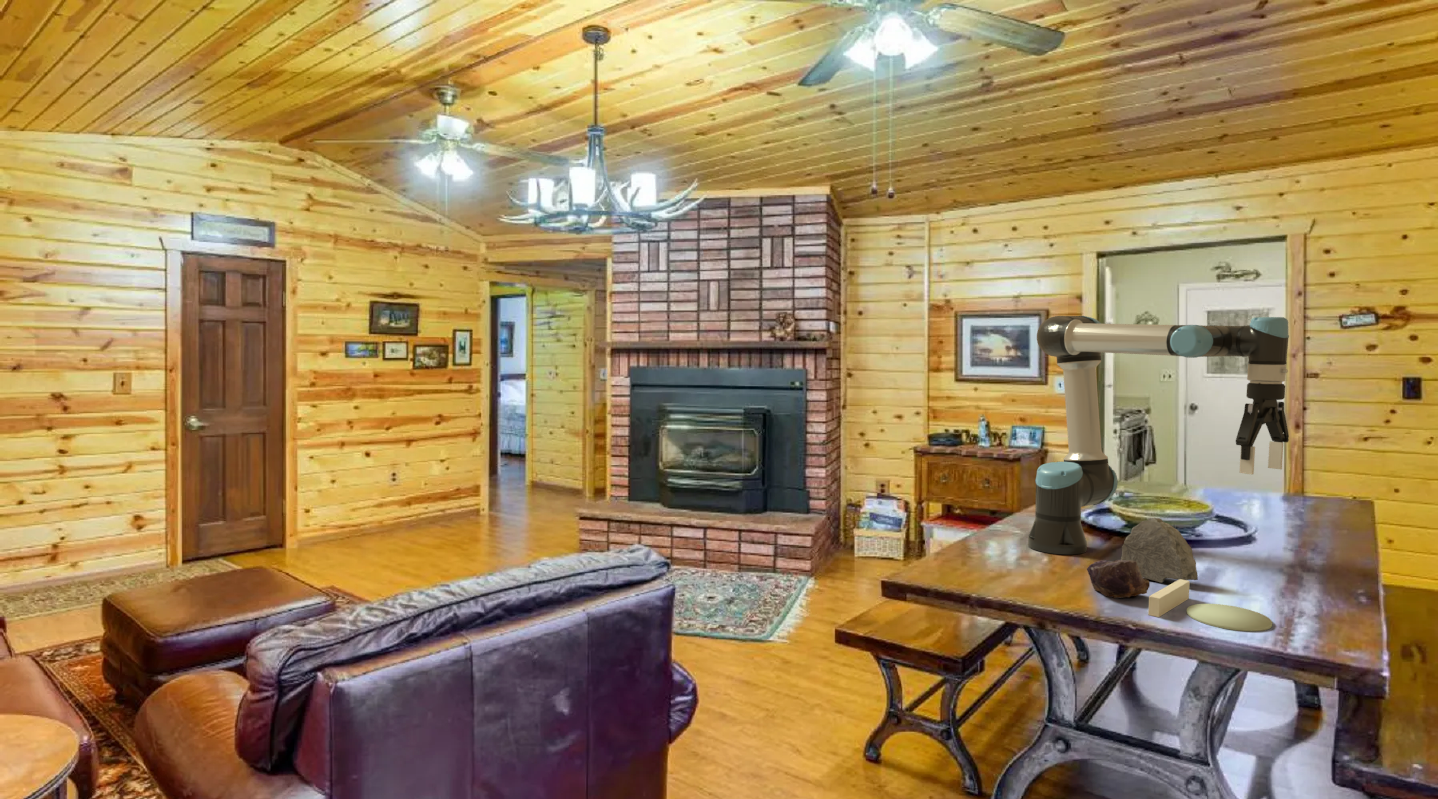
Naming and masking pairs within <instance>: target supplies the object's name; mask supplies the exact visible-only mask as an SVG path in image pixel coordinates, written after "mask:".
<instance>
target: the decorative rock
mask: <svg viewBox="0 0 1438 799" xmlns="http://www.w3.org/2000/svg"><path fill="white" fill-rule="evenodd" d="M1121 550H1122V551H1121V557H1120V560H1127V561H1128V560H1130V561H1132V560H1133V561H1136V562H1137V565H1138V567H1139V569H1140V572H1141V575H1142V578H1143V579H1147V580H1150V581H1155V582H1157V583H1164V581H1165V580H1166V579H1170V580H1179V579H1182V580H1187V581H1198V580H1199V576H1198V570H1197V561H1196V559H1194V555H1193V548H1192V547H1191V546H1190V544H1188V542H1187V540H1186V539H1185V538H1184V536H1183V534H1182V533H1181V532H1180V531H1179V530H1178V529H1177V528H1175V527H1174V526H1172V525H1171V524H1169V523H1168V522H1165V521H1164V520H1162V518H1158V517H1150V518H1148V519H1147V520H1142V521H1140V523H1138V524H1137V525H1135V526H1133V527H1132V529H1131V531H1130V534H1128V535H1127V536H1125V540H1124V541H1123V545H1122V546H1121Z"/></svg>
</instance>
